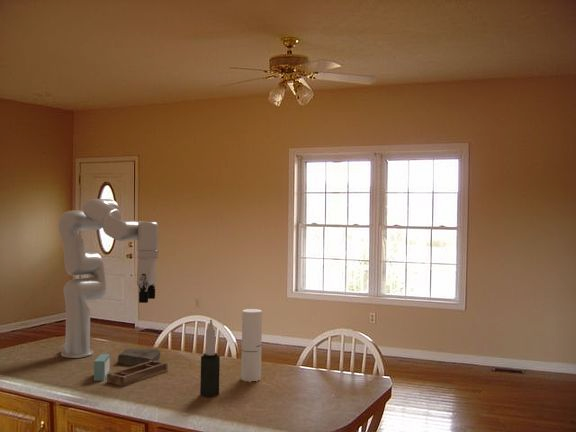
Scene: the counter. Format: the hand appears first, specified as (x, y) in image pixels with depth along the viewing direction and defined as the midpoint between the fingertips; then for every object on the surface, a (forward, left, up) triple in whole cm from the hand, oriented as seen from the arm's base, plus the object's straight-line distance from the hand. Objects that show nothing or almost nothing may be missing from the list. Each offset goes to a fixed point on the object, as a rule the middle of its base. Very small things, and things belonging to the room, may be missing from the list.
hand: (147, 300), depth 211 cm
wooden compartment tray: (+1, -5, -27) cm, 28 cm away
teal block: (-10, -12, -27) cm, 31 cm away
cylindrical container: (+37, +15, -27) cm, 48 cm away
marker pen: (+35, -7, -27) cm, 45 cm away
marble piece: (-13, +10, -28) cm, 32 cm away
